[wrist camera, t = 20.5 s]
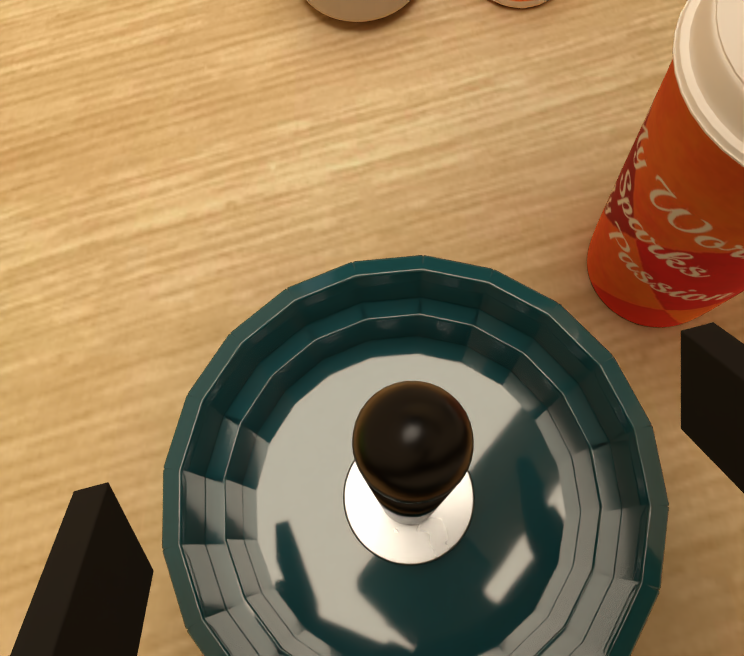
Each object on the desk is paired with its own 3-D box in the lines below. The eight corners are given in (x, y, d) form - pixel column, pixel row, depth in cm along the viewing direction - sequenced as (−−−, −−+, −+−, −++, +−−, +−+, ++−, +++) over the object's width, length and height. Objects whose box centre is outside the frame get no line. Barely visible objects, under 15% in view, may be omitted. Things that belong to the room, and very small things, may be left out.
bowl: (570, 298, 28) (612, 236, 23) (645, 702, 24) (722, 753, 18) (213, 331, 29) (165, 278, 23) (216, 737, 24) (157, 797, 18)
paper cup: (526, 236, 29) (627, -21, 16) (671, 157, 30) (884, -149, 17) (632, 389, 27) (854, 240, 14) (787, 300, 28) (1138, 76, 14)
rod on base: (461, 433, 26) (541, 276, 11) (477, 558, 25) (594, 581, 9) (343, 443, 26) (256, 302, 11) (352, 569, 25) (266, 609, 9)
